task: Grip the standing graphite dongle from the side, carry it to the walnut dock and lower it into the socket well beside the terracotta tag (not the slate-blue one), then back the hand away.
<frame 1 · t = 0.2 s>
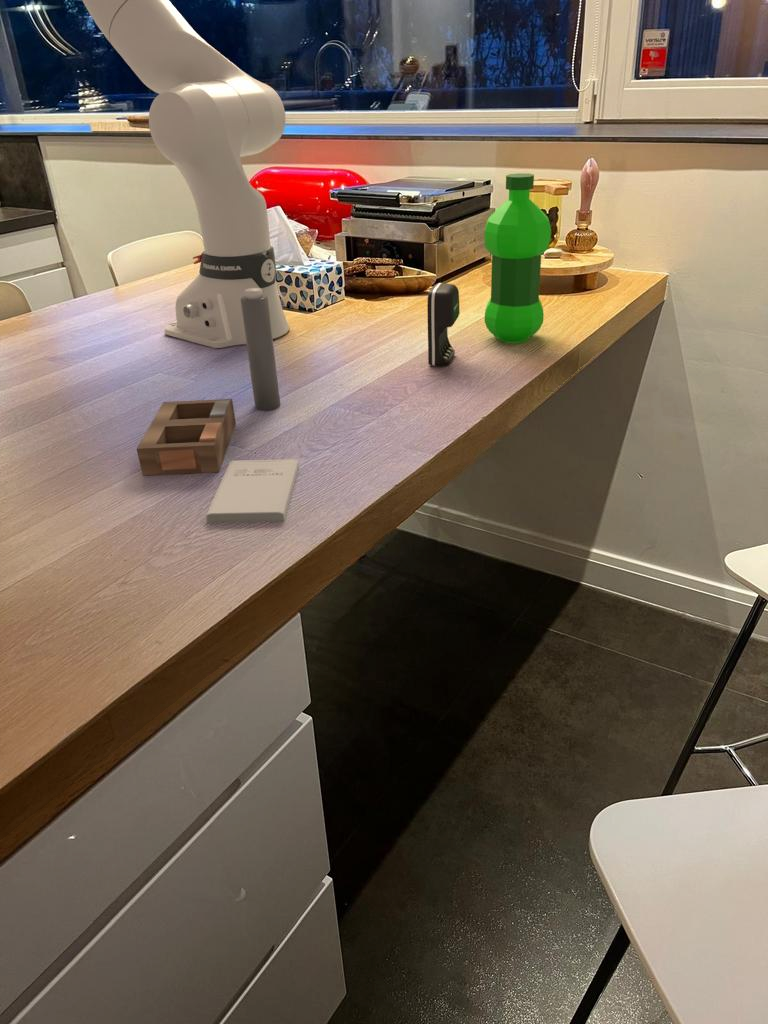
plug: (267, 405, 108), on the counter
dock: (192, 447, 98), on the counter
plastic bottle: (512, 339, 129), on the counter
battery: (444, 361, 121), on the counter
external hard drive: (256, 498, 87), on the counter
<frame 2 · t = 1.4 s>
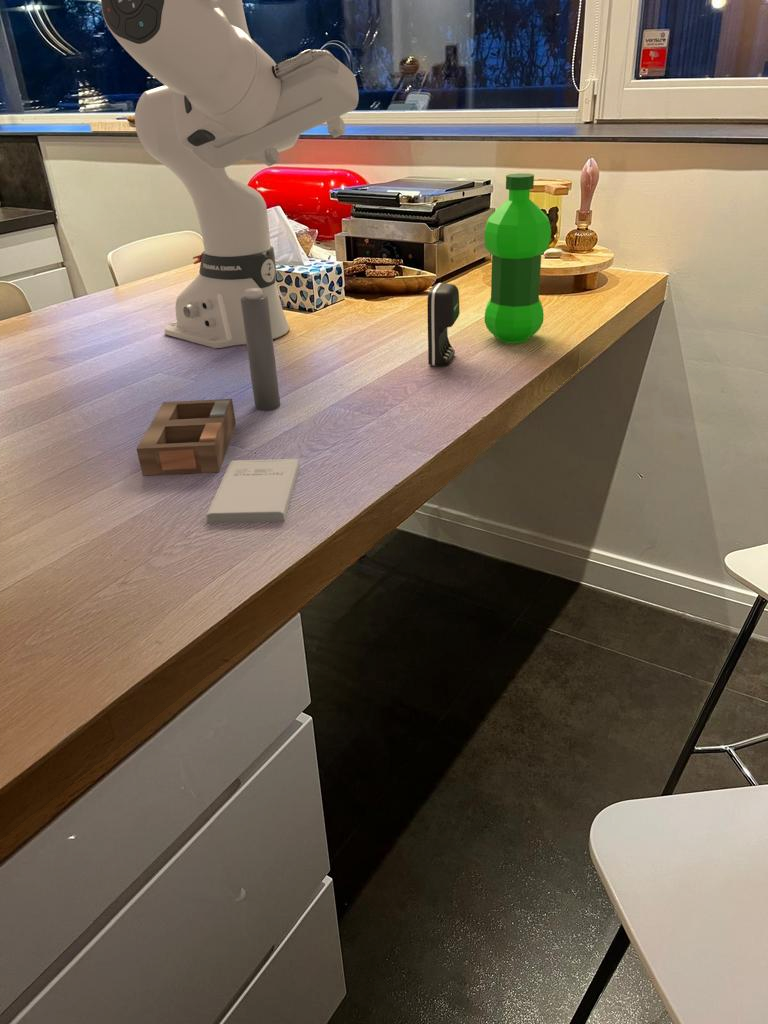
hand: (306, 144, 95), 32 cm above the counter, tool tilted 60°, fingers open, 8 cm apart
nothing on the counter moved.
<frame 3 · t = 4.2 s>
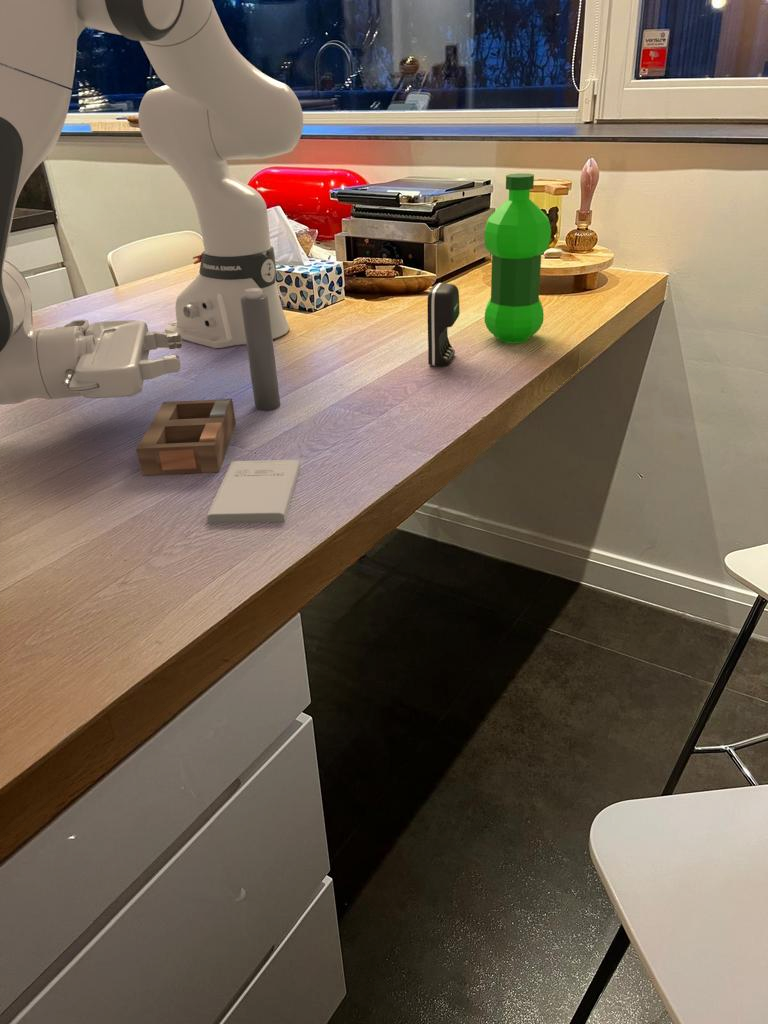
hand: (180, 351, 102), 9 cm above the counter, tool horizontal, fingers open, 8 cm apart
nothing on the counter moved.
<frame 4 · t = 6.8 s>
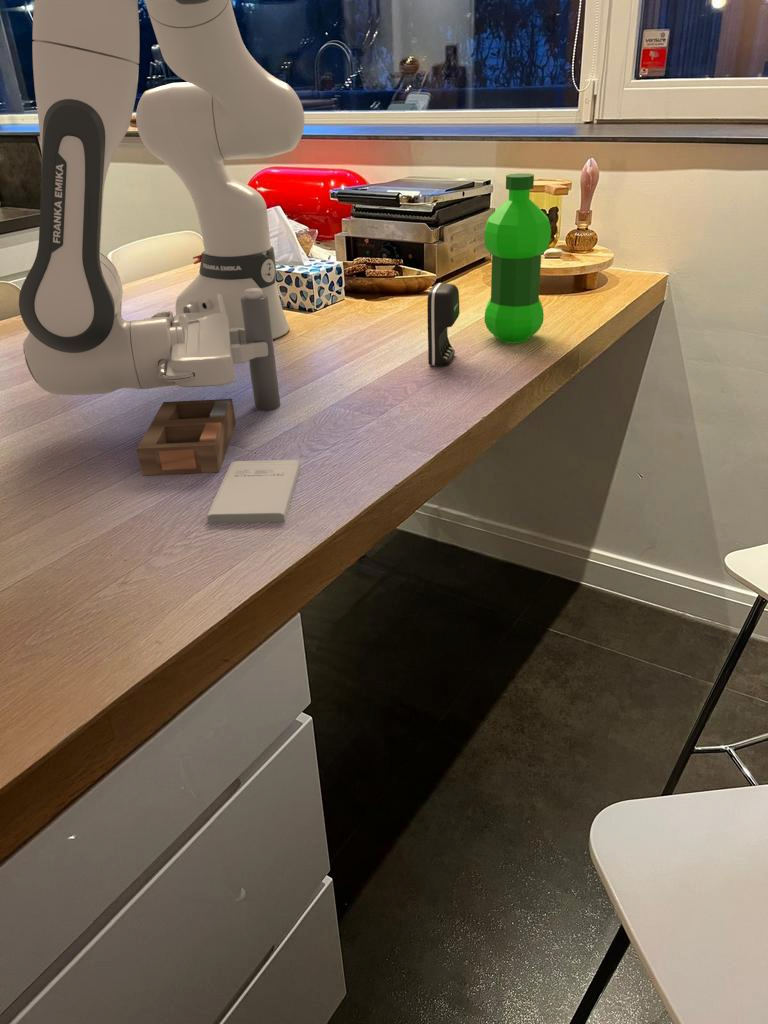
hand: (266, 341, 104), 9 cm above the counter, tool horizontal, fingers closed on plug, 3 cm apart
plug: (267, 405, 108), on the counter, touching gripper
everything else where it was.
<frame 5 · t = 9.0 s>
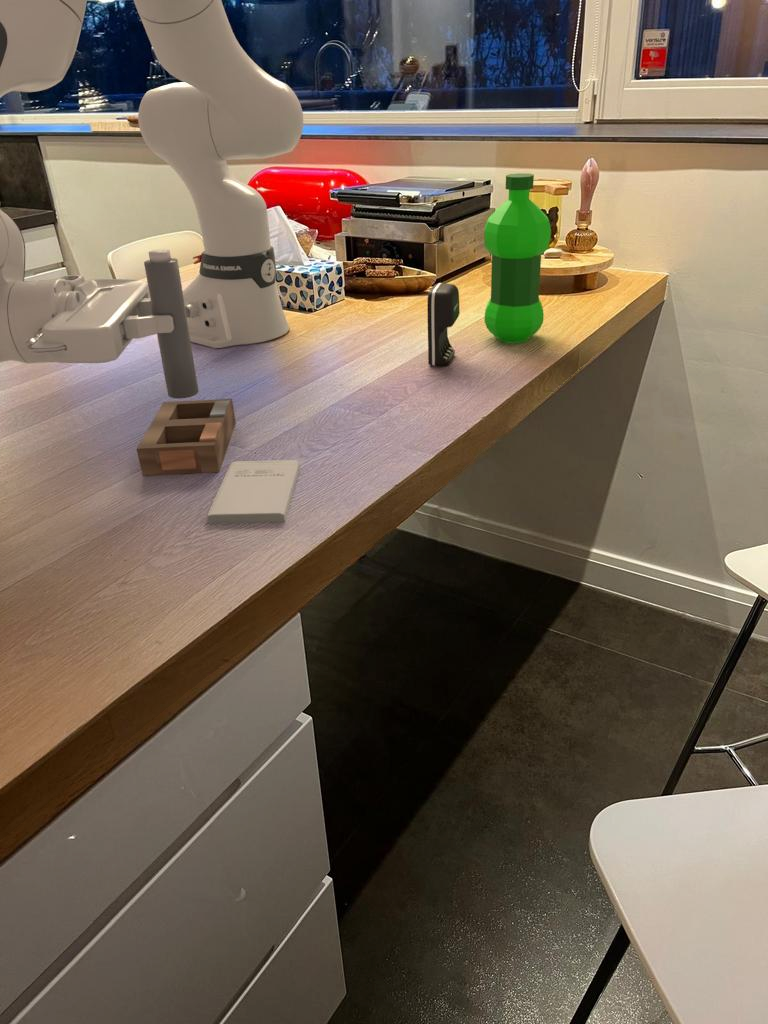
hand: (178, 316, 87), 17 cm above the counter, tool horizontal, fingers closed on plug, 3 cm apart
plug: (183, 392, 91), point 8 cm above the counter, touching gripper
everything else where it was.
when the fingers open (10 cm above the counter, at t = 11.2 s): plug stays where it is, resting in dock.
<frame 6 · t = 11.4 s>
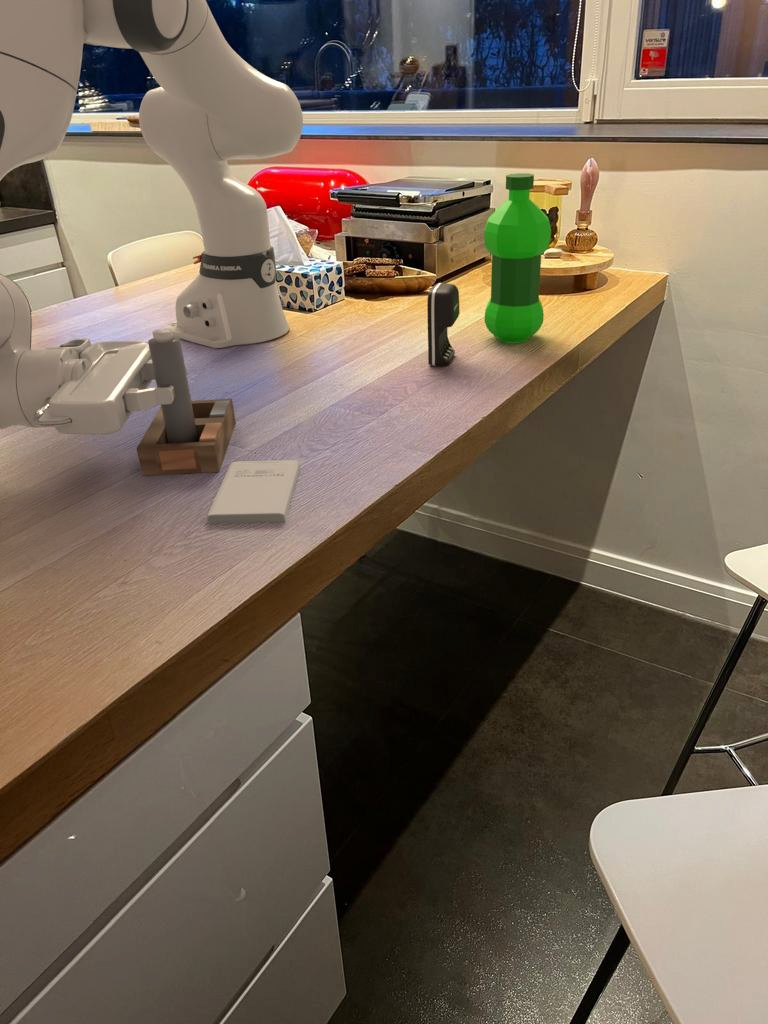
hand: (179, 382, 90), 10 cm above the counter, tool horizontal, fingers open, 6 cm apart
plug: (186, 460, 95), resting in dock
everything else where it was.
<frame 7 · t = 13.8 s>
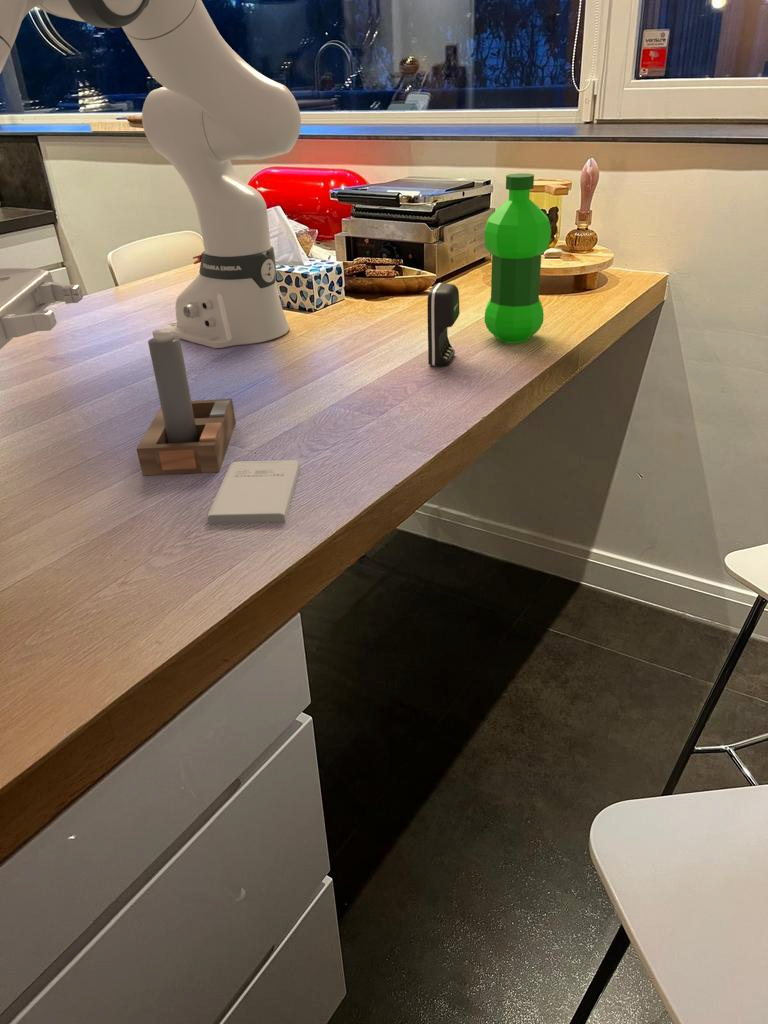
hand: (67, 306, 87), 19 cm above the counter, tool horizontal, fingers open, 8 cm apart
nothing on the counter moved.
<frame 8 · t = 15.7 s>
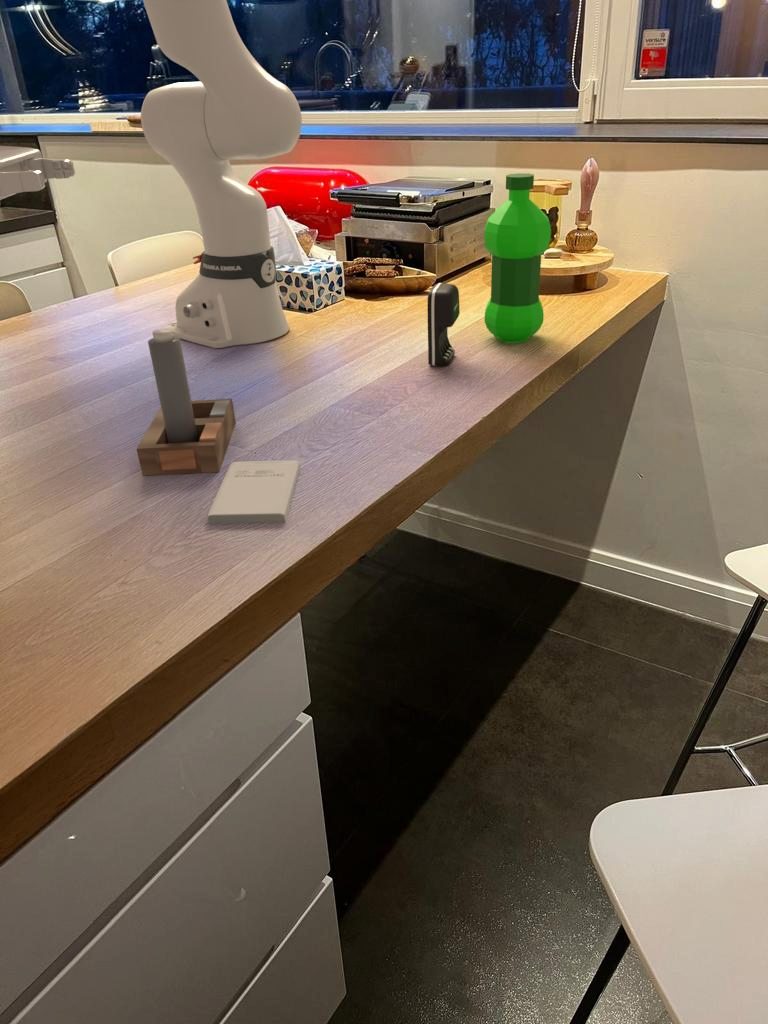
hand: (57, 174, 82), 32 cm above the counter, tool horizontal, fingers open, 8 cm apart
nothing on the counter moved.
at the end: plug 0.1 cm from the target spot, resting in dock; plug tilted 0°; the gripper is holding nothing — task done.
